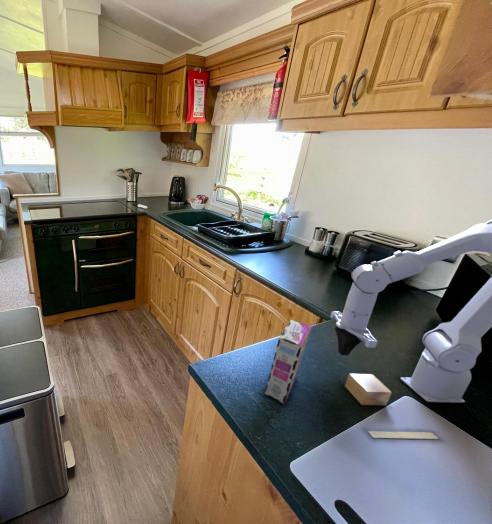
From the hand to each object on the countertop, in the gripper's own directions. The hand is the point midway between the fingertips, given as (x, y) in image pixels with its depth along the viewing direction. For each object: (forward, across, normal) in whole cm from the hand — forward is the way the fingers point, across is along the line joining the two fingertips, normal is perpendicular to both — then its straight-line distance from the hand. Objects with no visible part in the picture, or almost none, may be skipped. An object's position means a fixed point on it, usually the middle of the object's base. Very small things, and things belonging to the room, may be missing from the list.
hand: (343, 353), depth 80 cm
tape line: (+4, +22, -1) cm, 22 cm away
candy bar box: (+4, +8, -21) cm, 23 cm away
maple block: (+4, +11, -1) cm, 11 cm away
